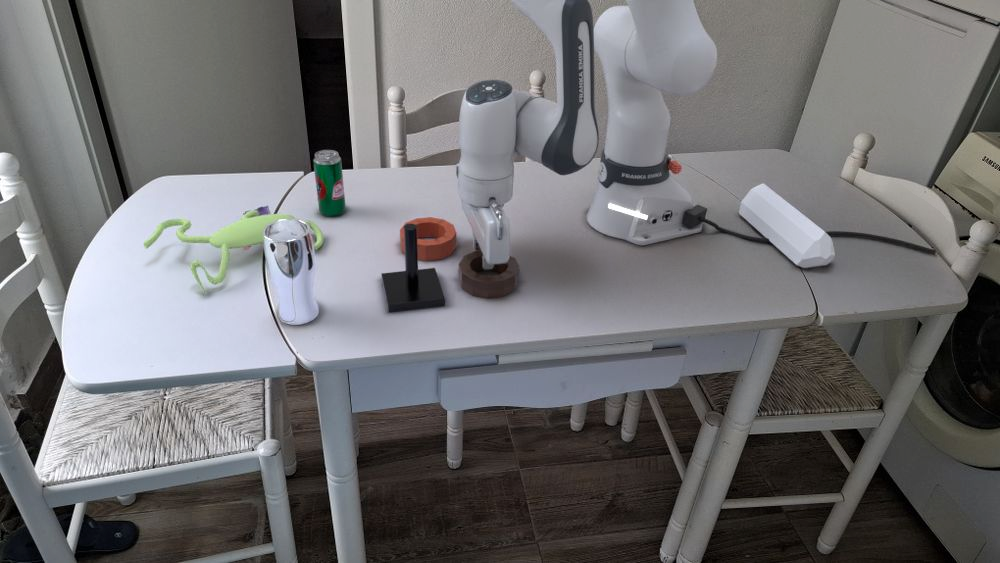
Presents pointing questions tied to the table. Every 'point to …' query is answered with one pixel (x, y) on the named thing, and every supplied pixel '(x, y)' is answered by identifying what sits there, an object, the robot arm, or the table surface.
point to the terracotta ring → (436, 230)
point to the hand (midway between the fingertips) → (483, 257)
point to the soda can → (329, 183)
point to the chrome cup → (292, 269)
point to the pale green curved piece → (230, 237)
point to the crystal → (787, 228)
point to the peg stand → (412, 281)
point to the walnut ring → (487, 284)
